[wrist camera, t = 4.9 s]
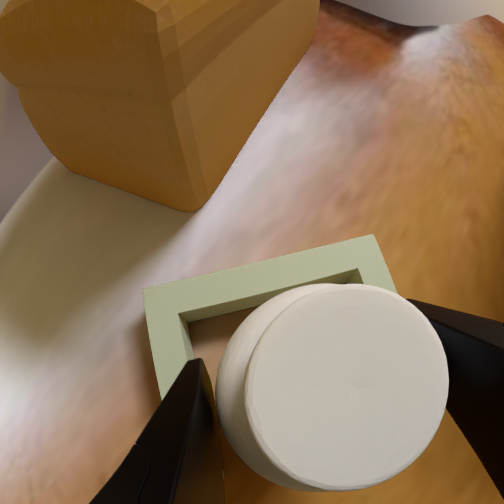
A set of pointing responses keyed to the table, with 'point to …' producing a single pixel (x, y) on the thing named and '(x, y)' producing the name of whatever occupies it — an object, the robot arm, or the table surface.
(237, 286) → the pale green u-shaped bracket
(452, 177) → the table surface
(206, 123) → the bread
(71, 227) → the table surface
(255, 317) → the supplement bottle
